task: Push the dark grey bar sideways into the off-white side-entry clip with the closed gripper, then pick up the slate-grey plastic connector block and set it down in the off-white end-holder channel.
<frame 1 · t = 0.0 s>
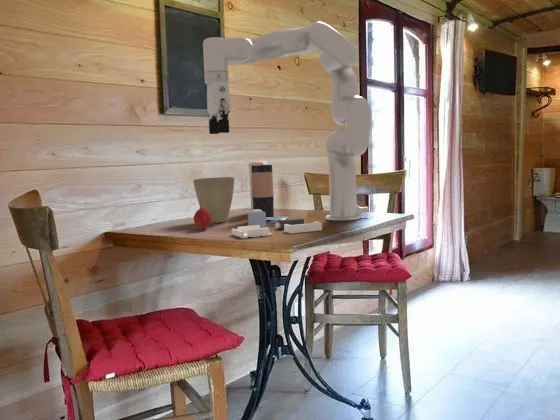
hand: (219, 133, 184), 31 cm above the table, fingers open, 9 cm apart
onion: (203, 230, 191), on the table
clip: (302, 231, 180), on the table
dark grey bar: (291, 228, 188), on the table
holder: (253, 235, 175), on the table
connector: (257, 230, 185), on the table
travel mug: (263, 220, 211), on the table
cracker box: (260, 214, 232), on the table
plant pot: (215, 222, 211), on the table
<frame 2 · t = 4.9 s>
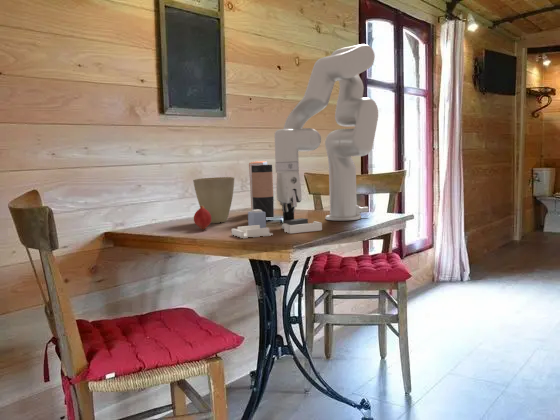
hand: (288, 224, 189), 1 cm above the table, fingers closed
dark grey bar: (295, 229, 186), on the table, touching gripper
everything else where it was.
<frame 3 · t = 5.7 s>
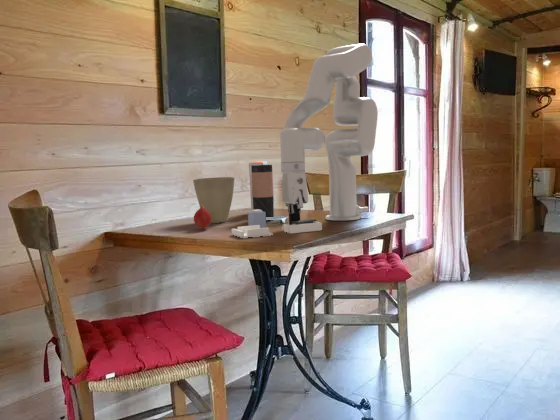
hand: (294, 225, 185), 1 cm above the table, fingers closed
dark grey bar: (304, 229, 183), on the table, touching clip, gripper
everything else where it was.
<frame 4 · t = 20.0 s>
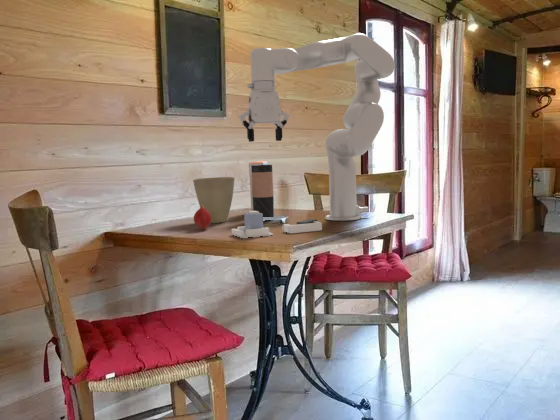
hand: (265, 141, 189), 28 cm above the table, fingers open, 9 cm apart
dark grey bar: (307, 230, 183), on the table
connector: (254, 233, 175), point 1 cm above the table, touching holder
everything else where it was.
at the end: dark grey bar inside the target area (3.6 cm from its centre), on the table; connector 0.3 cm off-centre on the holder, point 0.6 cm above the holder's base; connector tilted 0° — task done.
